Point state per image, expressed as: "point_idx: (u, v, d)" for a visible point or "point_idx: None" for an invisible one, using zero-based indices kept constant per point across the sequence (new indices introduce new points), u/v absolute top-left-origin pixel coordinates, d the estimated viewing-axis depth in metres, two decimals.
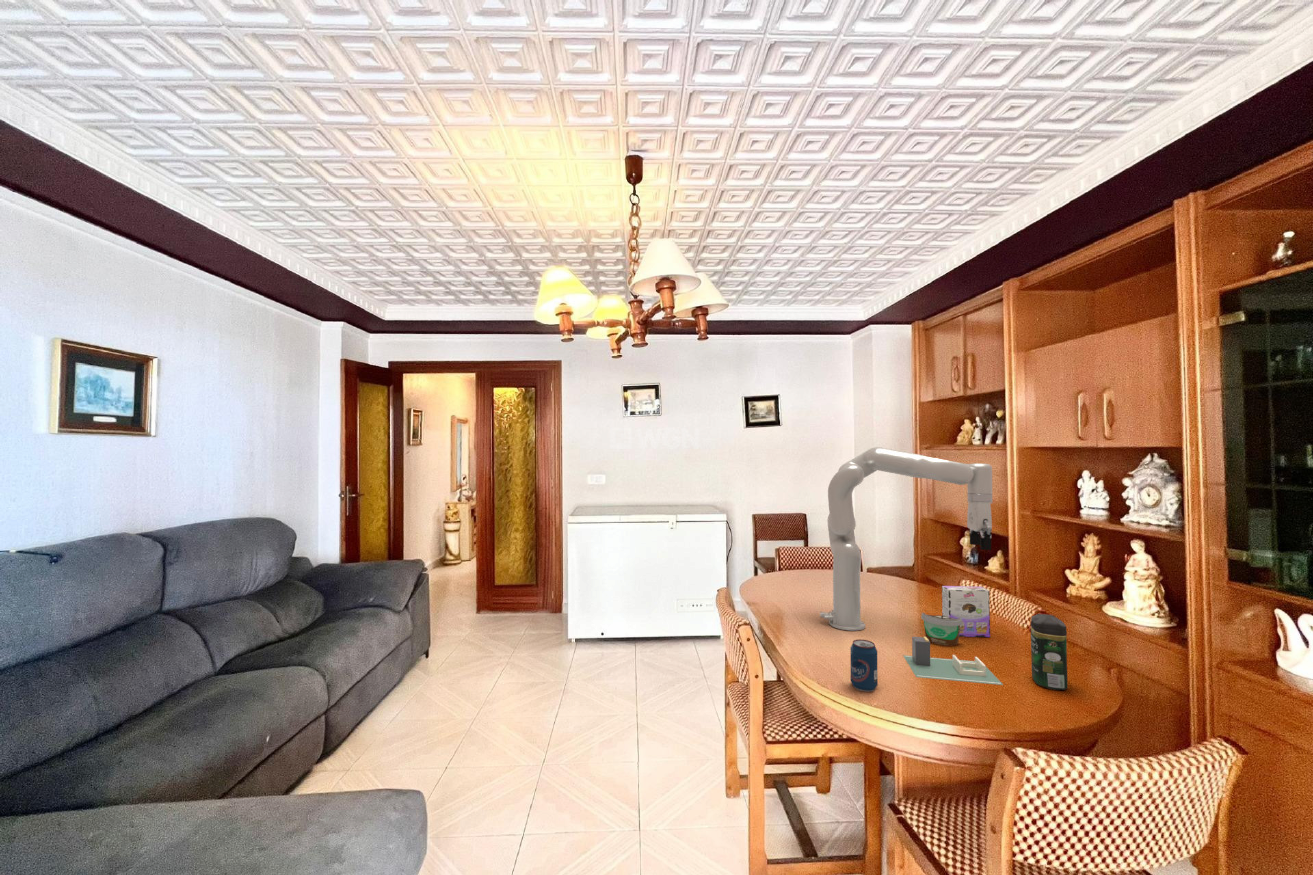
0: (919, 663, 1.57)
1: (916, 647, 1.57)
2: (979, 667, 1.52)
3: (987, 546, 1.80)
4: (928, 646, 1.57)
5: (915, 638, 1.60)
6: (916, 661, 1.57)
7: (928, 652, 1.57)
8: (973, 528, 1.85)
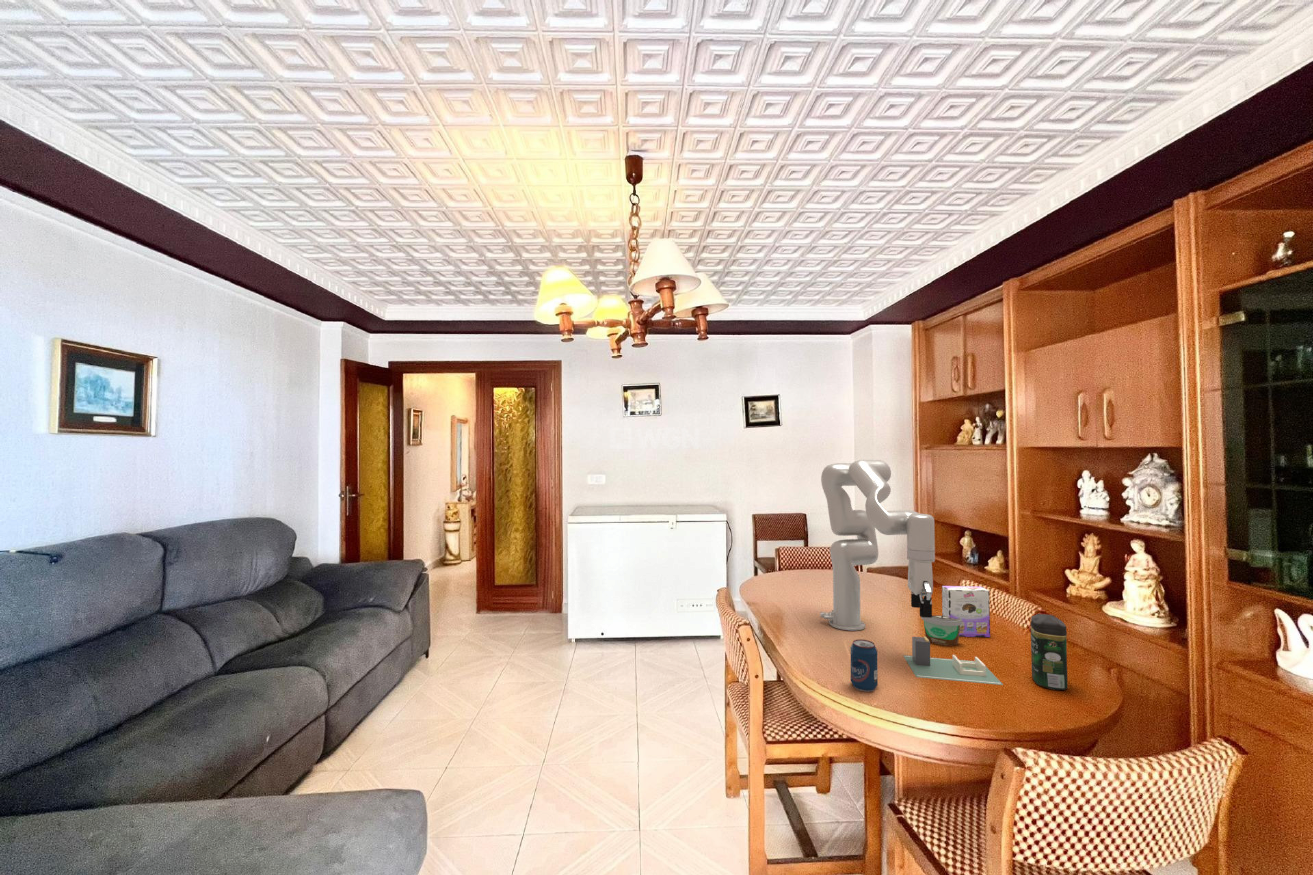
0: (919, 663, 1.57)
1: (916, 647, 1.57)
2: (979, 667, 1.52)
3: (927, 613, 1.53)
4: (928, 646, 1.57)
5: (915, 638, 1.60)
6: (916, 661, 1.57)
7: (928, 652, 1.57)
8: (912, 590, 1.58)
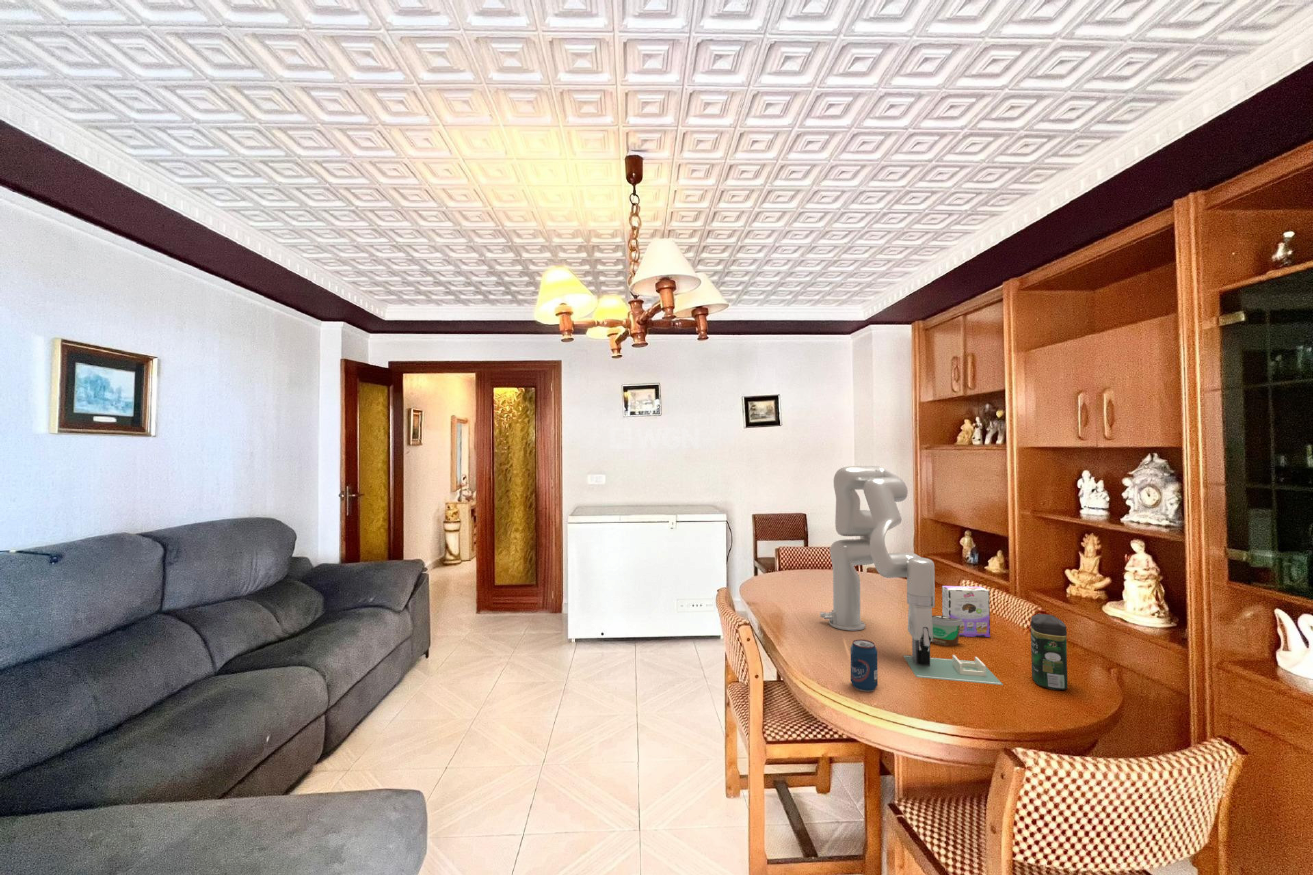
0: None
1: (916, 647, 1.57)
2: (979, 667, 1.52)
3: (924, 660, 1.56)
4: None
5: None
6: (916, 661, 1.57)
7: None
8: (912, 635, 1.58)
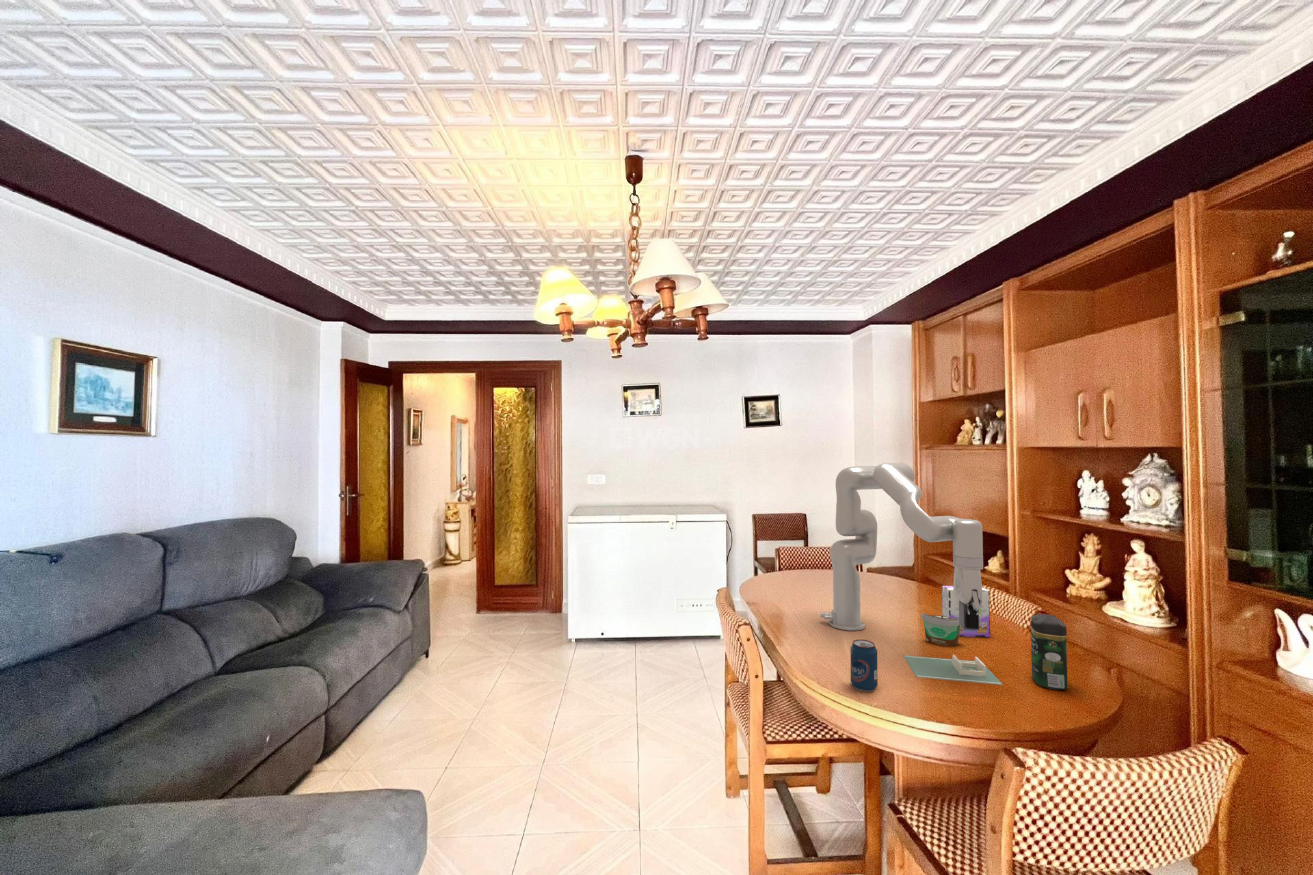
0: None
1: (964, 611, 1.52)
2: (979, 667, 1.52)
3: (973, 624, 1.50)
4: None
5: None
6: (964, 625, 1.52)
7: None
8: (960, 599, 1.52)
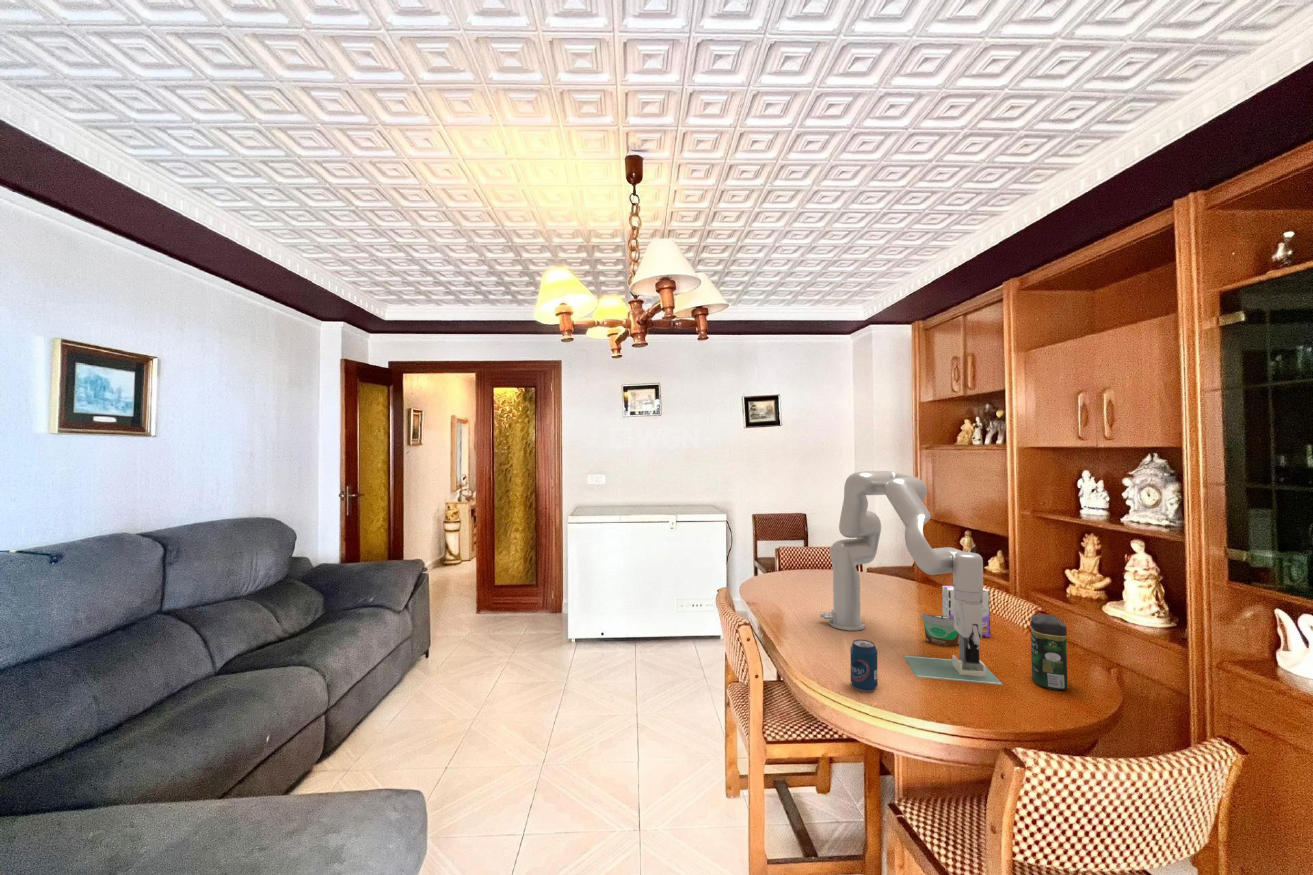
0: None
1: (964, 645, 1.52)
2: (979, 667, 1.52)
3: (974, 659, 1.50)
4: None
5: None
6: (964, 659, 1.52)
7: None
8: (960, 633, 1.52)
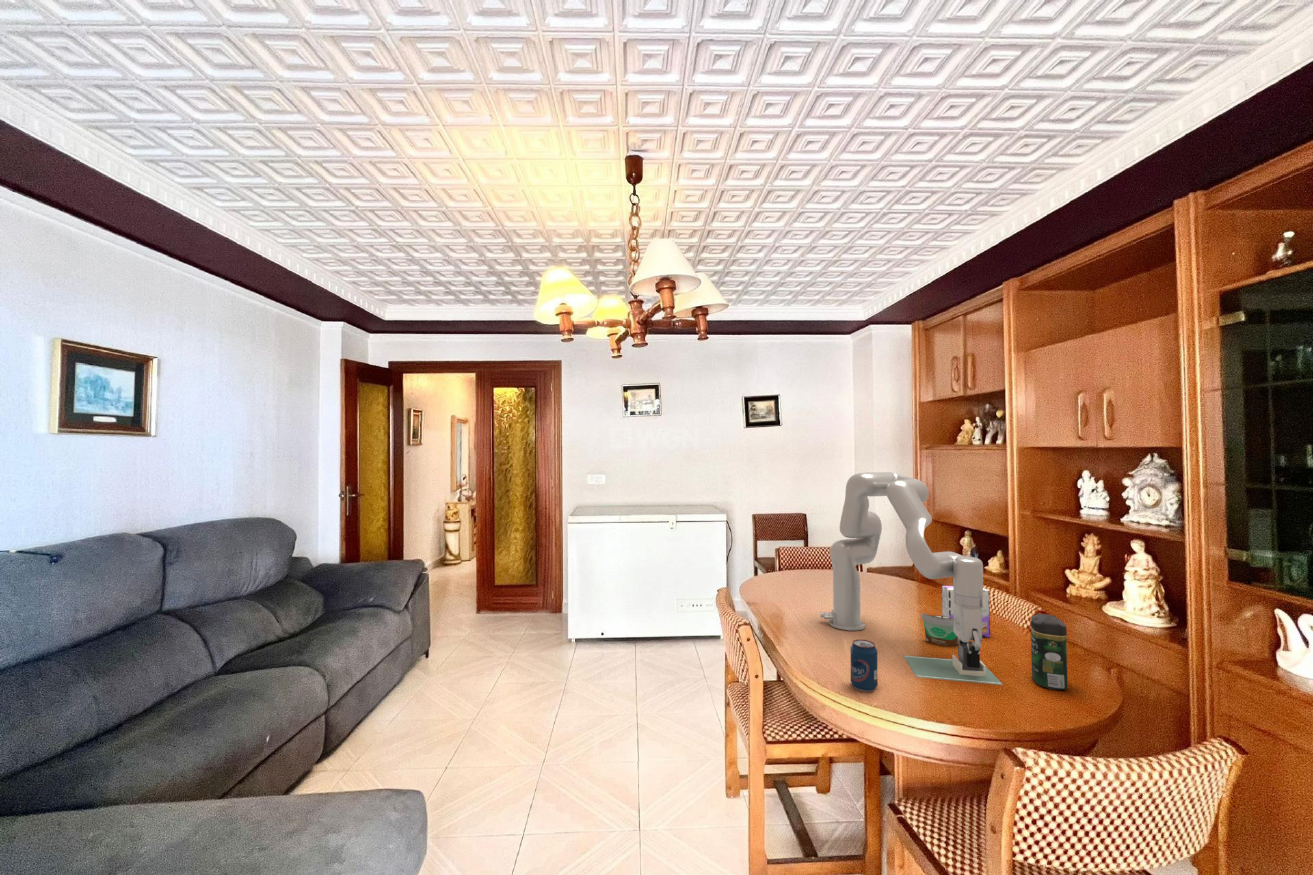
0: None
1: (964, 654, 1.52)
2: None
3: (975, 664, 1.49)
4: None
5: (962, 645, 1.54)
6: (964, 668, 1.52)
7: None
8: (960, 637, 1.52)
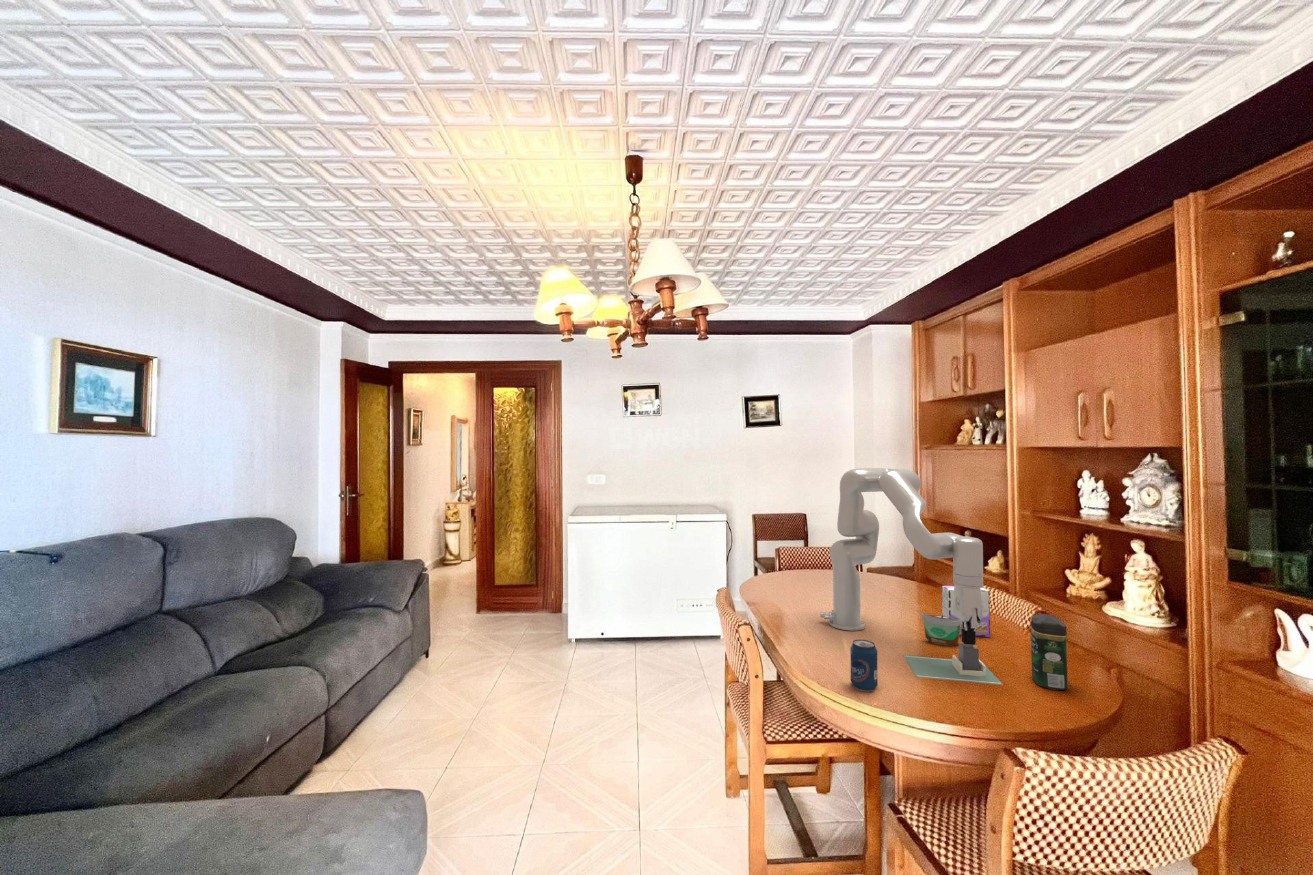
0: None
1: (964, 654, 1.52)
2: (979, 667, 1.52)
3: (971, 640, 1.52)
4: (976, 653, 1.51)
5: (962, 645, 1.54)
6: (964, 668, 1.52)
7: (976, 659, 1.51)
8: (960, 617, 1.52)
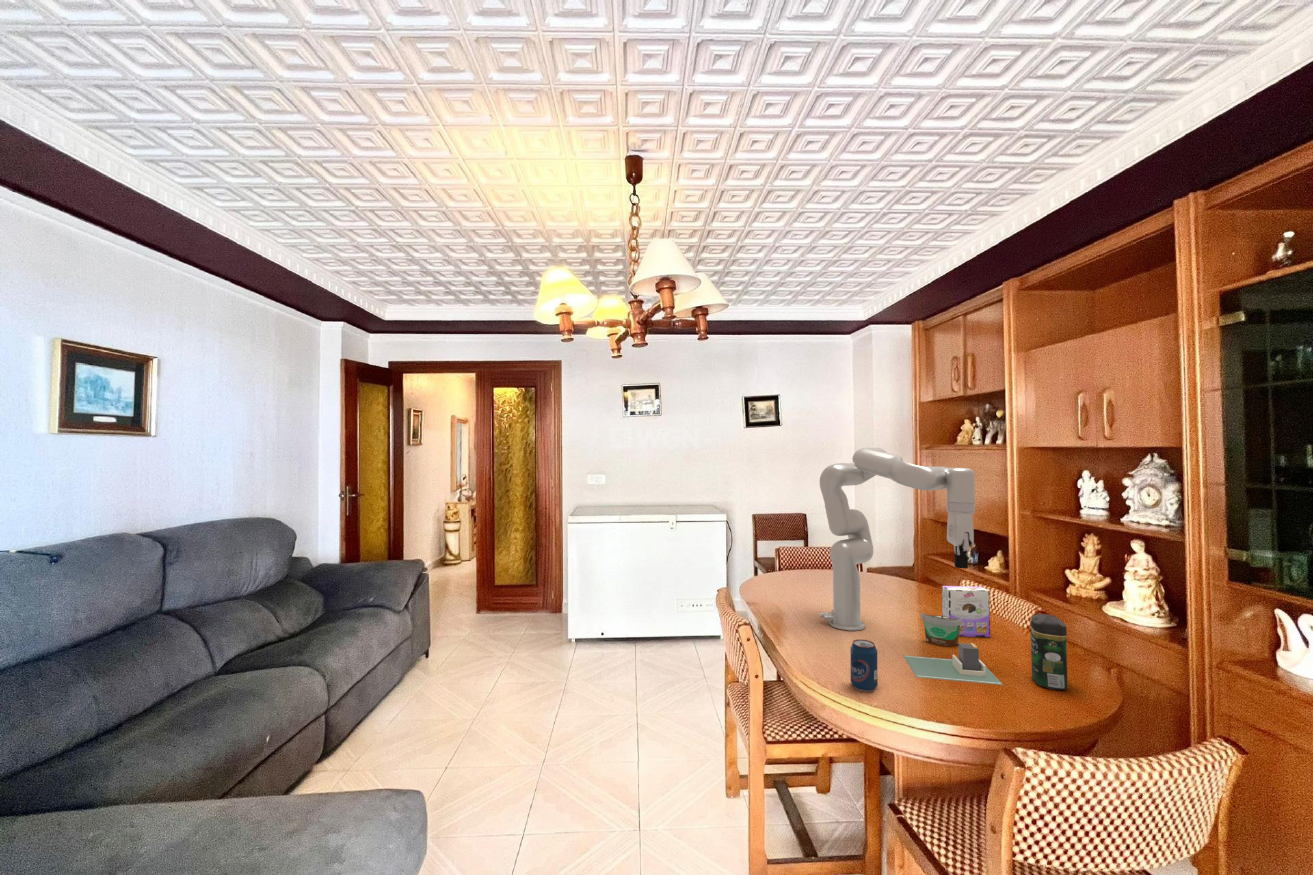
0: None
1: (964, 654, 1.52)
2: (979, 667, 1.52)
3: (963, 564, 1.61)
4: (976, 653, 1.51)
5: (962, 645, 1.54)
6: (964, 668, 1.52)
7: (976, 659, 1.51)
8: (953, 542, 1.61)
